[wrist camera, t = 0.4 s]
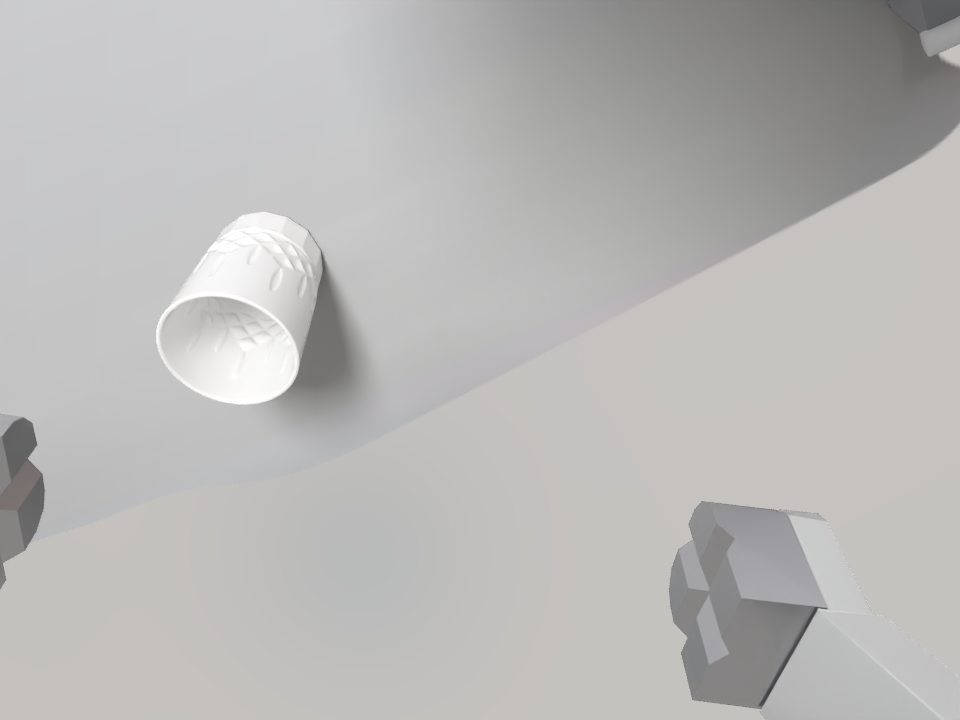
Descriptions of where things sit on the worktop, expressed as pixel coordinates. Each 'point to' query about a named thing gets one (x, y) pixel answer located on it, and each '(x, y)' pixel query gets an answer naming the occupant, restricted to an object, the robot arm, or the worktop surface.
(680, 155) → the worktop surface
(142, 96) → the worktop surface
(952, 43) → the dispenser
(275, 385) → the white cup
